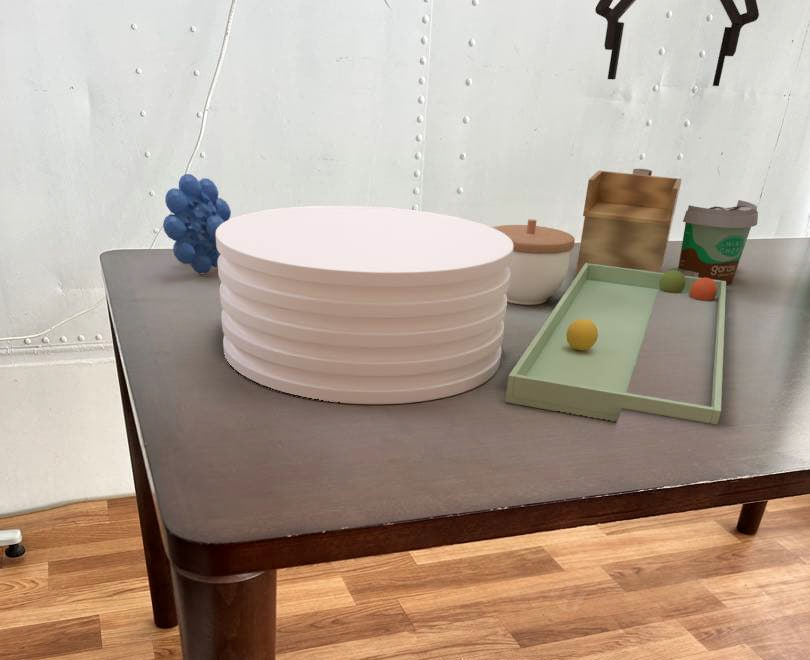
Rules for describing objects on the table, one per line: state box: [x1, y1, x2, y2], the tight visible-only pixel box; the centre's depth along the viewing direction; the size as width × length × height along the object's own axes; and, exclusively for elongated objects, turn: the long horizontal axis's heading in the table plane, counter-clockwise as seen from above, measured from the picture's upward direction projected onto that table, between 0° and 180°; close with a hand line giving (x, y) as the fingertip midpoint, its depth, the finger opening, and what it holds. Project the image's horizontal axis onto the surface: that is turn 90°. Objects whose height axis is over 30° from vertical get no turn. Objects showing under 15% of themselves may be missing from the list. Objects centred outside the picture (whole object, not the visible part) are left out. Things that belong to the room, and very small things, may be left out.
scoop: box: [582, 168, 682, 226], centre depth 111 cm, size 11×15×4 cm
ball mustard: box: [566, 319, 598, 351], centre depth 85 cm, size 3×3×3 cm
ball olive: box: [659, 269, 686, 294], centre depth 105 cm, size 3×3×3 cm
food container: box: [677, 199, 759, 286], centre depth 112 cm, size 12×6×10 cm, turn 126°
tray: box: [504, 263, 727, 425], centre depth 90 cm, size 18×46×3 cm, turn 161°
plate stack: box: [216, 205, 514, 405], centre depth 81 cm, size 28×28×12 cm
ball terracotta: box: [689, 278, 717, 302], centre depth 102 cm, size 3×3×3 cm
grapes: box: [162, 173, 232, 274], centre depth 102 cm, size 12×7×12 cm, turn 151°
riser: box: [574, 216, 674, 277], centre depth 113 cm, size 11×6×8 cm, turn 71°
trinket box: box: [492, 218, 576, 306], centre depth 101 cm, size 11×11×9 cm
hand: (662, 82), depth 109 cm, fingers open, 13 cm apart
